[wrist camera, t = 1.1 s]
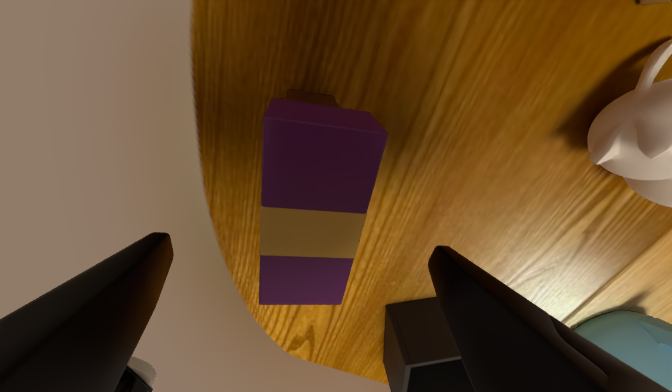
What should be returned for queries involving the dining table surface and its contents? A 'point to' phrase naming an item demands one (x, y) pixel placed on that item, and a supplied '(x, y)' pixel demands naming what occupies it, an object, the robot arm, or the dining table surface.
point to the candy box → (653, 1)
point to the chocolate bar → (314, 198)
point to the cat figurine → (639, 133)
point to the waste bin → (422, 350)
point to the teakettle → (634, 342)
